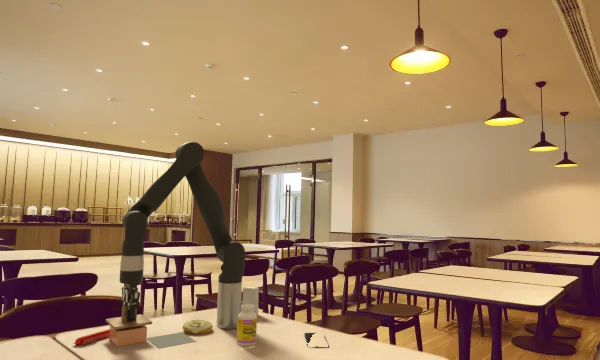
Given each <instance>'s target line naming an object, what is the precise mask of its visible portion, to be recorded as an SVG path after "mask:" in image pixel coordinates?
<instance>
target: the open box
mask: <svg viewBox="0 0 600 360" xmlns="http://www.w3.org/2000/svg"><path fill="white" fill-rule="evenodd" d="M109 329H110V336H109V337H108V338H109V341H111V342H112V343H113V345H115V346H116V347H121V346H126V345H132V344H139V343H143V342H144V343H145V342H147V338H148V334H147V333H148V327H147V325H143V326H136V327H129V328H123V329H116V330H114V329H113V328H112V327H111V326H110V325H109Z"/></svg>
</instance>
